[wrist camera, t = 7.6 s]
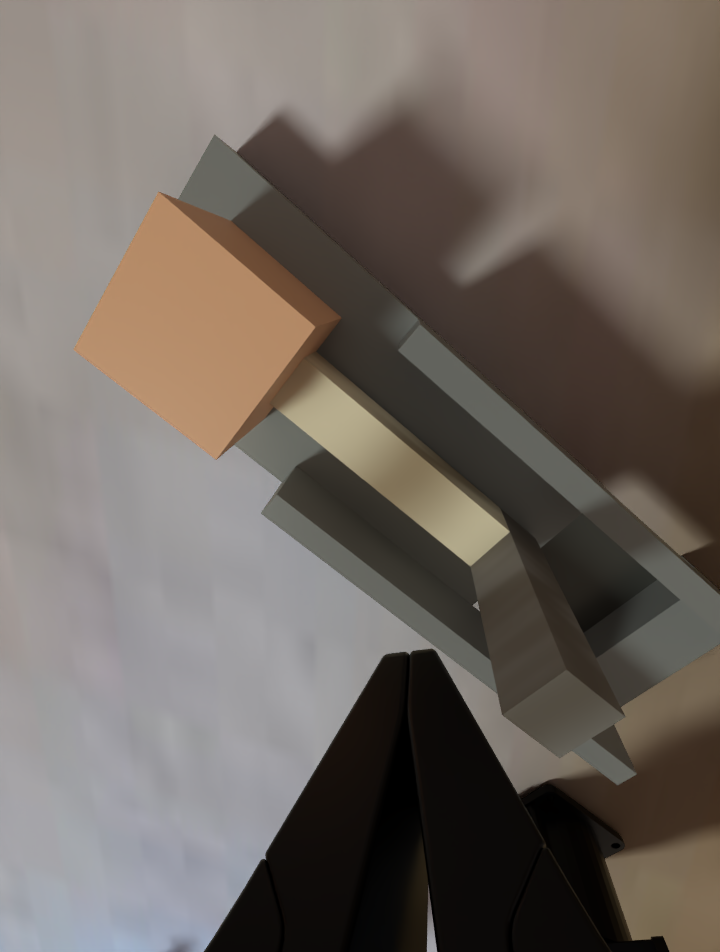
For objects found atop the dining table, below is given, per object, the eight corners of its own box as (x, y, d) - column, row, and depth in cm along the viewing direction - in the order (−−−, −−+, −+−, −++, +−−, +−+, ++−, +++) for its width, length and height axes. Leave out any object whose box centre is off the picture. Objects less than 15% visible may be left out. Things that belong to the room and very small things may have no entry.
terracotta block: (341, 317, 17) (315, 326, 12) (264, 418, 19) (216, 459, 14) (230, 220, 16) (158, 191, 12) (160, 335, 18) (73, 349, 13)
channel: (724, 594, 22) (809, 676, 17) (578, 692, 25) (617, 785, 20) (235, 151, 17) (171, 99, 13) (128, 335, 20) (43, 347, 15)
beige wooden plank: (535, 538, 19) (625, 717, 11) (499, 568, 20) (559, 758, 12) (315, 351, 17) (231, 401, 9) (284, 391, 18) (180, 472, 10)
